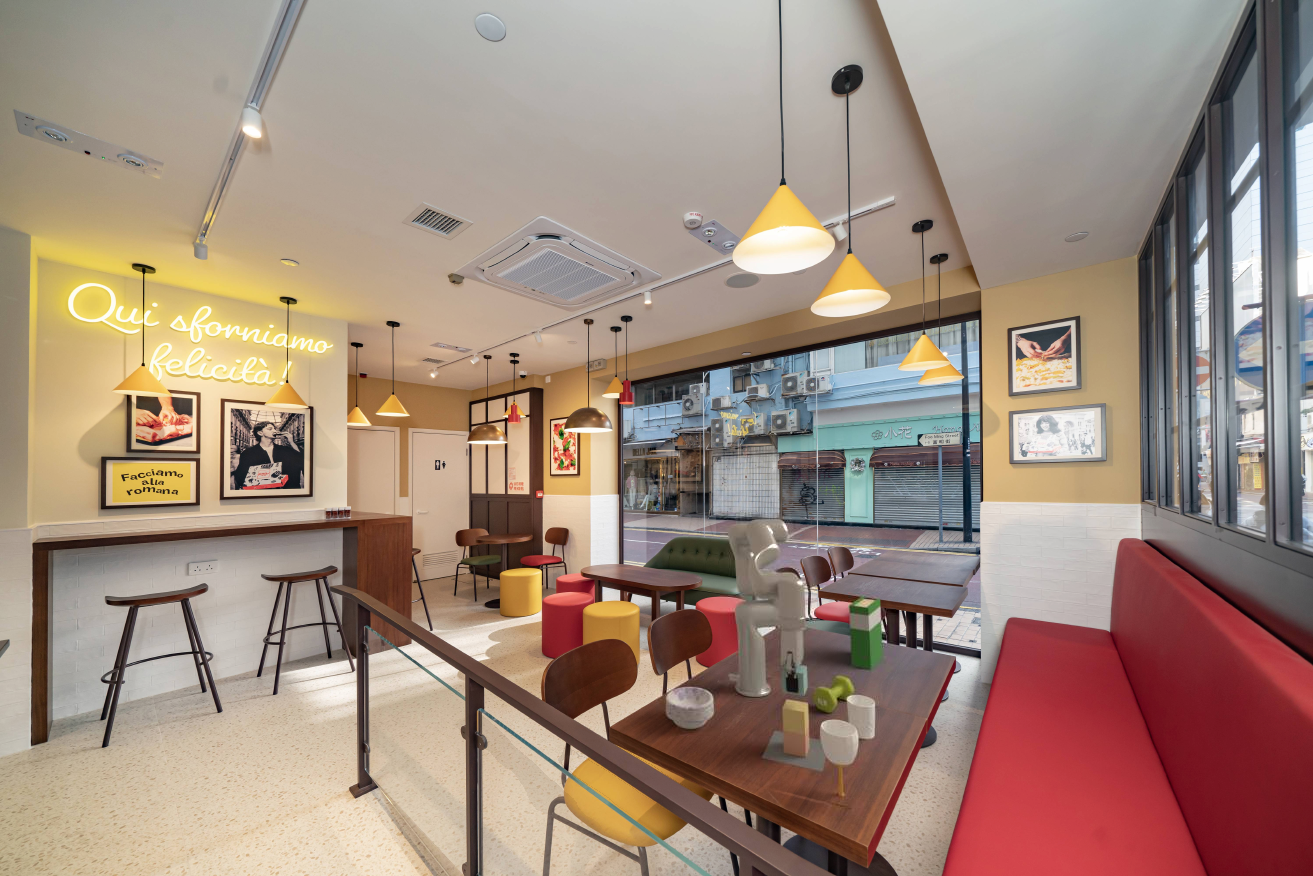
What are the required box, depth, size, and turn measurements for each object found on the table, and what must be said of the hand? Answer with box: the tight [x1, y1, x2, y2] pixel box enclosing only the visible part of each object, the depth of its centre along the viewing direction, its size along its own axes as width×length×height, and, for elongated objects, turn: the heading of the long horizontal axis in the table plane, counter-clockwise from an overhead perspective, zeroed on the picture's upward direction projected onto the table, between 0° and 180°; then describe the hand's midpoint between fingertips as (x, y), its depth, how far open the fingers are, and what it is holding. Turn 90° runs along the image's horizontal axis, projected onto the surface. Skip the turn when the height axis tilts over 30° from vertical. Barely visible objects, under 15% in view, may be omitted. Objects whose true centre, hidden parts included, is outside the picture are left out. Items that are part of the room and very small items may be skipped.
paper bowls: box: [665, 686, 715, 730], centre depth 161 cm, size 15×15×8 cm
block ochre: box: [782, 699, 810, 735], centre depth 143 cm, size 6×6×6 cm
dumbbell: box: [812, 675, 855, 714], centre depth 171 cm, size 16×8×7 cm, turn 133°
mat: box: [761, 730, 827, 773], centre depth 142 cm, size 16×16×1 cm
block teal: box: [781, 664, 809, 697], centre depth 143 cm, size 6×6×6 cm
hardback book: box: [848, 596, 884, 671], centre depth 210 cm, size 18×7×24 cm, turn 142°
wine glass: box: [819, 719, 860, 810], centre depth 123 cm, size 9×9×16 cm
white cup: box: [846, 694, 876, 740], centre depth 151 cm, size 8×8×10 cm
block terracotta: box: [782, 726, 810, 757], centre depth 142 cm, size 6×6×6 cm
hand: (794, 686), depth 143 cm, fingers closed on block teal, 6 cm apart
